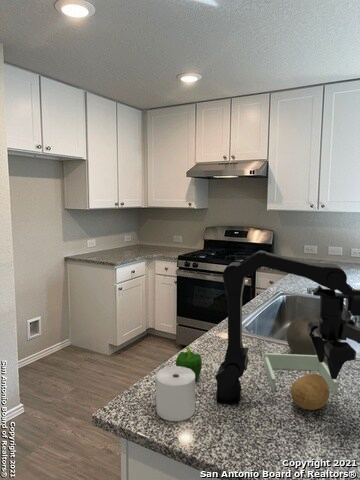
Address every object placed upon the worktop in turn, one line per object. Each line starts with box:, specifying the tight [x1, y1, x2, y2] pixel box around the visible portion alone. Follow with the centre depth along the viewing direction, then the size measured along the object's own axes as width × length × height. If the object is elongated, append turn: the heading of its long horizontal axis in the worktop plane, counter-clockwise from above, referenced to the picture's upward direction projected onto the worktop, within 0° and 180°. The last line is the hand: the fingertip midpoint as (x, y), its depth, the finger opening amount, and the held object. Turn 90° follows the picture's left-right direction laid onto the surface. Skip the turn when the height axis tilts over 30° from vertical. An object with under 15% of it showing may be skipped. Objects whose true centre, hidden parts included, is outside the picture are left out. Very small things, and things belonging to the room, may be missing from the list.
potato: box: [290, 372, 331, 411], centre depth 96 cm, size 10×14×8 cm
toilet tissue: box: [155, 362, 196, 422], centre depth 94 cm, size 11×12×10 cm
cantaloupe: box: [286, 315, 319, 355], centre depth 127 cm, size 14×14×15 cm
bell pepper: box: [175, 346, 203, 382], centre depth 110 cm, size 8×8×10 cm
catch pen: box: [263, 352, 339, 396], centre depth 110 cm, size 19×16×5 cm
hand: (327, 370), depth 91 cm, fingers open, 9 cm apart
